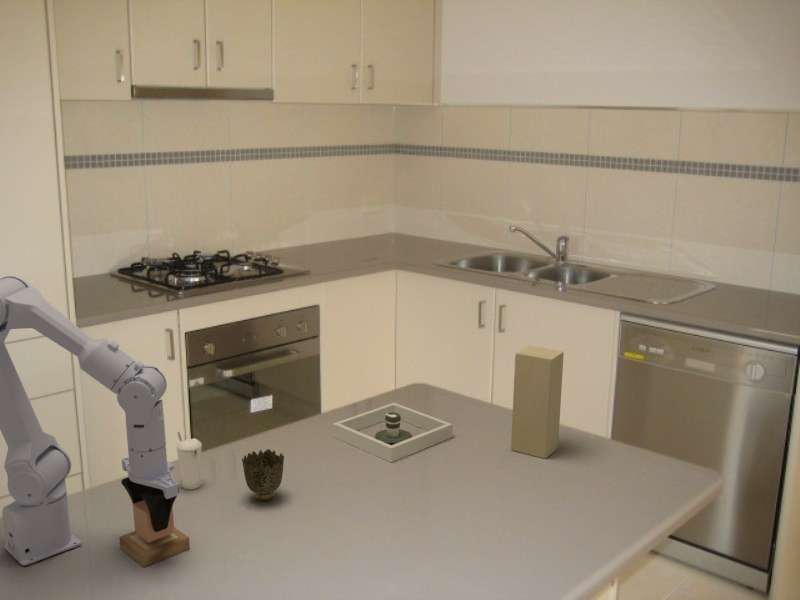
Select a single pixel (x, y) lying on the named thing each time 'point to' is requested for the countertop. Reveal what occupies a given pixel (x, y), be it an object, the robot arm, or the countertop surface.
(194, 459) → the milkshake
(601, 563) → the countertop surface
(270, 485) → the cup
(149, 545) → the base slab
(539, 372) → the tan tall block
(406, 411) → the cup tray
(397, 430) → the coffee cup
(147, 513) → the block
